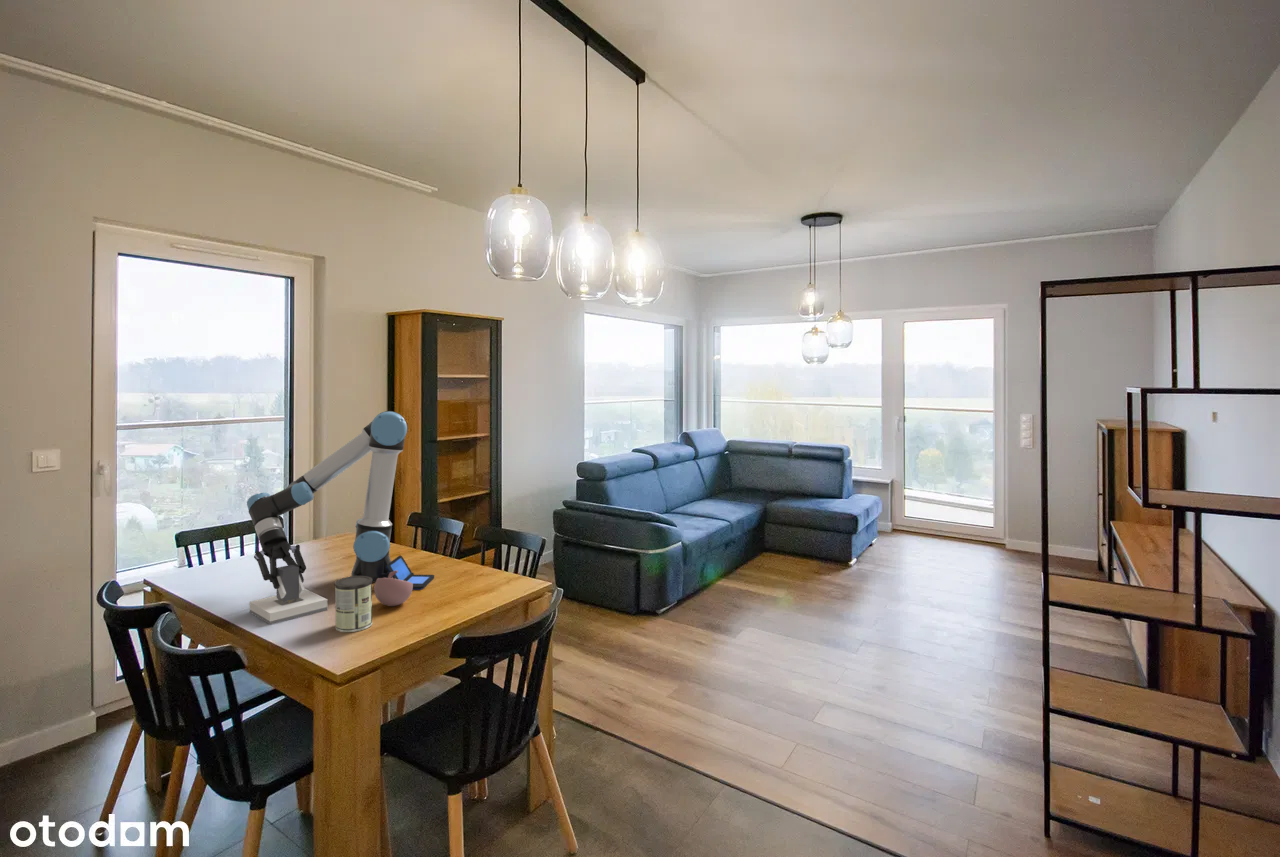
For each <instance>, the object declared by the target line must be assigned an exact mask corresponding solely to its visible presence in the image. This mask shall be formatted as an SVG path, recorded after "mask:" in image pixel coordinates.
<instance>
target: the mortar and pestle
mask: <svg viewBox="0 0 1280 857" xmlns="http://www.w3.org/2000/svg"><path fill="white" fill-rule="evenodd" d="M397 572H398V571H397V570H395V571H393V572H390V574H389V576H388V578H378V579H377V580H376V582H374V587H373V588H374V590H373V591H374V595H375V598H376V599H377V600H378V602H380V603H381V604H382V605H384V606H388V607H396V606H399V605H402V604H403V603H405V602H406V601H407V600H409V598H410V597H411V594H412V592H413V590H412V589H413V583H411V582H408V581H404V580H399V579H393V577H392V576H393V575H394V574H396V573H397Z"/></svg>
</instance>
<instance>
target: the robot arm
mask: <svg viewBox="0 0 1280 857" xmlns="http://www.w3.org/2000/svg"><path fill="white" fill-rule="evenodd" d="M407 432H408V424H407V422H406V420H405V418H404V417H403V416H402V415H401V414H400V413H398V412H396V411H393V410H385V411H382V412H380V413H378V414H377V415H376V416H374V418H373V419H372V421H371V422H369V424H367V425H366V426H365V427H363V428H362V430H361V433H360V434H358V435H356V436H355V437H354V438H353V439H351V440H350V441H349V442H347V443H345V444H344V445H343V446H341V447H340V448H339V449H337V450H335V452H333V453H331V455H329V456H328V457H326V458H324V460H322V461H320V462H319V463H318V464H316V465H314V467H312V468H311V469H310V470H308V471H307V472H305V473H304V474H303V475H301V476H300V477H298V478H297V479H296V480H293V481H292V482H291V483H289V484H288V486H287V487H286V488H284V489H282V490H280V491H278V492H276V493H273V494H269V493H267V492H260V493H254V494H253V495H251V496H249V498H248V499H247V501H246V506H247V509H248V511H247V512H248V514H249V516H250V519H251V522H252V524H253V526H254V529H255V533H256V536H257V538H258V542H259V544H260V547H261V550H260V551H259V550H257V551H255V554H254V556H253V558H254V560H255V561H256V562H257V564H258V567H259V570H260V572H261V575H262V579H263V581H269V582H270V583H271V584H272V586H273V588H274V590H277V589H278V591H279V594H280V597H281V598H284V596H285V595H286V591H285V589H284V586H283V583H282V580H281V578H280V576H278V577H277V568H278V567H277V566H278V565H277V560H279V559H282V561H283V562H285V564H286V566H288V565H294V566H297V567H299V594H302V593H303V591H304V589H305V586H304V584H303V583H304V580H305V579H304V576H303V574H304V573H305V571H306V570H307V566H306V563H305V561H304V558H303V555H302V553H301V550H300V549H301V545H300V544H295V545H292V544H290V543H289V541H288V538H287V535H286V533H285V531H284V528H283V524H282V523H281V520H280V516H282V515H284V514H286V513H289V512H290V511H292V510H295V509H297V508H299V507H301V506H304V505H306V504H308V503H310V502H311V501H313V500H314V494H315V493H316V492H317V491H319V490H320V489H321V488H323V487H324V486H326V485H327V484H328V483H330V482H331V481H332V480H334V479H335V478H336V477H338V476H340V474H342V473H344V472H345V471H346V470H347V469H350V468H351V467H352V466H353V465H355V464H356V463H357V462H359V461H361V459H363V458H364V457H365V456H367V455H368V454H370V453H371V452H372V454H371V458H370V459H371V461H370V467H369V475H368V480H367V486H366V487H367V488H366V492H365V493H366V494H365V502H364V506H363V514H362V515H363V516H362V518H359V519H357V520H356V524H355V539H354V542H353V546H352V547H353V552H354V554H355V558H356V559H355V561H354V565H353V568H352V569H351V570H352V571H351V575H350V577H352V576H368V577H371V578H372V583H376V580H377V579H378V578H388V576H389V574H390V572H389V571H388V569H387V564H389V563H390V562H391V561H392V560H391V557H390V548H391V542H390V541H391V534H392V528H393V527H392V526H393V523H392V522H391V520H390V519H389V518H390V511H391V506H392V497H393V490H394V484H395V477H396V472H397V470H396V469H397V465H398V464H397V463H398V456H399V454H400V453H403V451H404V446H405V440H406V439H405V438H406V435H407ZM290 551H291V553H292V554H293V557H294V558H293V557H292V556H291V553H290ZM265 556H266V557H268V558H269V567H268V565H267V562H266V559H265Z"/></svg>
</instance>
